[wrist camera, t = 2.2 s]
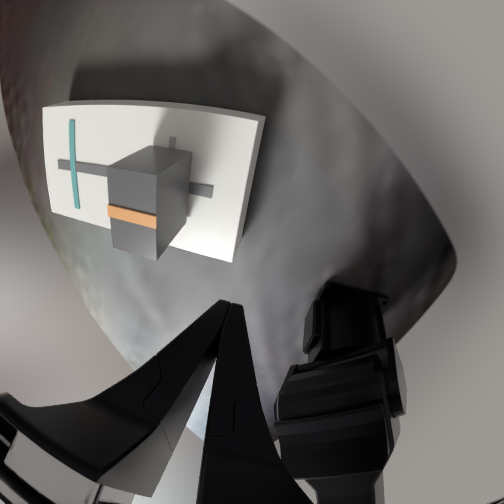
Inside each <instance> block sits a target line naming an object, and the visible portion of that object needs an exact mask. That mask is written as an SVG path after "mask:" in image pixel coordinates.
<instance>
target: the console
mask: <svg viewBox="0 0 504 504" xmlns="http://www.w3.org/2000/svg"><path fill="white" fill-rule="evenodd" d="M265 118H266V116H262V115H257V114H252V113H247V112H241V111H235V110H229V109H223V108H216V107H209V106H202V105H193V104H184V103H174V102H161V101H144V100H78V101H65V102H61V103H57V104H54V105H50V106H46V107H43V139H44V154H45V166H46V175H47V183H48V190H49V197H50V203H51V209H52V212H54V213H58V214H61V215H65V216H68V217H71V218H75V219H78V220H81V221H85V222H88V223H92V224H95V225H99V226H102V227H106V228H109V229H111V224H110V217H108V211H107V205H108V204H109V201H108V184H107V167H108V166H109V165H111V164H113V163H115V162H117V161H119V160H121V159H123V158H125V157H126V156H128V155H130V154H132V153H134V152H136V151H138V150H141V149H143V148H145V147H147V146H149V145H152V146H159V147H166V148H173V149H179V150H185V151H191V152H193V153H192V162H191V172H190V182H189V194H188V207H187V221H186V224H185V225H184V226H183V228H182V229H181V230H180V231H179V233H178V234H177V235H176V236H175V238H174V239H173V240H172V242H171V243H170V244H169V246H173V247H177V248H180V249H184V250H188V251H191V252H195V253H199V254H202V255H206V256H210V257H213V258H217V259H221V260H224V261H228V262H232V261H233V258H234V256H235V254H236V251H237V249H238V246H239V244H240V242H241V238H242V232H243V227H244V222H245V217H246V212H247V207H248V202H249V197H250V191H251V186H252V181H253V176H254V171H255V166H256V161H257V157H258V152H259V147H260V142H261V137H262V132H263V127H264V122H265Z"/></svg>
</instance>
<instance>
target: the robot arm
mask: <svg viewBox="0 0 504 504" xmlns="http://www.w3.org/2000/svg"><path fill="white" fill-rule="evenodd" d="M329 287H331V289H328V288H329ZM383 301H385V302H383ZM389 303H390V301H389V298H388V297H387V296H384V295H380V294H376V293H372V292H368V291H364V290H360V289H356V288H352V287H348V286H344V285H340V284H336V283H332V282H328V283H326V284H325V285H324V287H323V289H322V291H321V293H320V295H319V298H318V300H315V301H314V302H313V303H312V305H311V307H310V309H309V312H308V314H307V316H306V318H305V326H304V339H303V352H304V354H308V363H305V364H301V365H297V364H296V365H292V366H291V367H290V369H289V371H288V373H287V376H286V378H285V380H284V383H283V385H282V387H281V389H280V391H279V394H278V396H277V398H276V401H275V404H274V415H275V422H274V426H275V429H276V431H277V434H278V437H279V442H280V449H281V459H280V457H279V455H278V453H277V450H276V447H275V444H274V442H273V439H272V436H271V434H270V431H269V428H268V425H267V422H266V419H265V416H264V413H263V410H262V406H261V401H260V397H259V392H258V387H257V386H256V385H257V382H256V377H255V371H254V366H253V360H252V355H251V349H250V343H249V338H248V332H247V326H246V321H245V315H244V309H243V306H242V305H240V304H236V303H231V302H229V301H225V300H222V299H220V300H218V301H217V302H216V303H215V304H214V305H213V306H211V307H210V308H209V309H208V310H207V311H206V312H205V313H203V314H202V315H201V316H200V317H199V318H198V319H196V320H195V321H194V322H193V323H192V324H191V325H190V326H188V327H187V328H186V329H185V330H184V331H183V332H181V333H180V334H179V335H178V336H177V337H176V338H174V339H173V340H172V341H171V342H170V343H169V344H167V345H166V346H165V347H164V348H163V349H162V350H160V351H159V352H158V353H157V354H156V355H154V356H153V357H152V358H151V359H150V360H149V361H147V362H146V363H145V364H144V365H142V366H141V367H140V368H138V369H137V370H136V371H134V372H133V373H131V374H130V375H128V376H127V377H126V378H124V379H122V380H121V381H119V382H118V383H116V384H114V385H113V386H111V387H110V388H108V389H106V390H105V391H103V392H102V393H100V394H98V395H96V396H95V397H93V398H90V399H88V400H85V401H81V402H74V403H68V404H61V405H53V406H44V407H29V406H26V405H23V404H22V403H20V402H19V401H18V400H16V399H15V398H14V397H13V396H12V395H10V394H9V393H8V392H5V393H1V394H0V499H1V500H2V501H3V502H4V503H5V504H131V503H132V500H133V498H134V495H135V494H137V495H142V496H146V497H152V495H153V493H154V491H155V489H156V487H157V485H158V483H159V481H160V479H161V477H162V474H163V472H164V470H165V468H166V466H167V464H168V461H169V460H170V458H171V456H172V453H173V451H174V449H175V447H176V445H177V443H178V441H179V439H180V436H181V434H182V432H183V430H184V428H185V426H186V424H187V421H188V419H189V417H190V415H191V413H192V411H193V409H194V406H195V404H196V402H197V400H198V398H199V396H200V393H201V391H202V389H203V387H204V385H205V383H206V380H207V378H208V376H209V374H210V372H211V369H212V367H213V365H214V363H215V360H216V365H215V372H214V378H213V385H212V391H211V398H210V405H209V412H208V418H207V425H206V432H205V439H204V447H203V454H202V461H201V469H200V476H199V484H198V492H197V500H196V504H313V502H312V501H311V500H310V499H309V498H308V496H307V495H306V494H305V493H304V492H303V490H302V489H301V488H300V487H299V486H298V484H297V483H296V482H295V480H301V479H304V480H305V481H306V482H307V483H308V484H309V485H310V486H311V487H312V488H313V489H314V491H315V493H316V498H317V504H384V486H383V469H384V467H385V465H386V463H387V461H388V460H389V458H390V456H391V454H392V452H393V449H394V447H395V444H396V442H397V439H398V436H399V434H400V423H399V416H402V415H405V414H406V394H407V393H406V392H407V390H406V382H405V377H404V371H403V366H402V364H401V360H400V357H399V354H398V351H397V348H396V345H395V342H394V339H393V337H391V338H388V339H387V337H386V332H385V327H384V322H383V317H382V314H383V313H384V311H385V310H386V308H387V306H388V305H389ZM216 358H217V359H216ZM487 504H504V497H502V498H500V499H498V500H495V501H493V502H490V503H487Z"/></svg>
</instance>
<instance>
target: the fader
mask: <svg viewBox="0 0 504 504" xmlns="http://www.w3.org/2000/svg"><path fill="white" fill-rule="evenodd" d="M192 153H193V152H191V151H185V150H179V149H173V148H166V147H159V146H152V145H149V146H147V147H145V148H143V149H141V150H138V151H136V152H134V153H132V154H130V155H128V156H126V157H125V158H123V159H121V160H119V161H117V162H115V163H113V164H111V165H109V166H108V167H107V184H108V201H109V204H108V205H107V211H108V217H110V224H111V233H112V242H113V248H116V249H120V250H123V251H126V252H129V253H132V254H136V255H139V256H142V257H145V258H149V259H152V260H155V261H157V260H158V259H159V257H160V256H161V255H162V253H163V252H164V251H165V249H166V248H167V247H168V245H169V244H170V243H171V242H172V240H173V239H174V238H175V236H176V235H177V234H178V233H179V231H180V230H181V229H182V228H183V226H184V225H185V224H186V221H187V207H188V194H189V182H190V172H191V162H192Z"/></svg>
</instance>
